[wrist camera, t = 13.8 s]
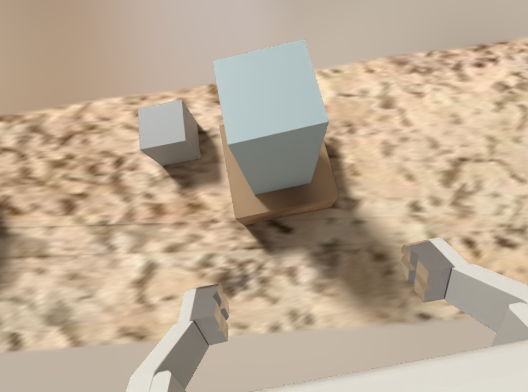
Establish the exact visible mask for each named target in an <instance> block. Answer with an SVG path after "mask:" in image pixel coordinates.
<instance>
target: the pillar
mask: <svg viewBox="0 0 528 392" xmlns="http://www.w3.org/2000/svg"><path fill="white" fill-rule="evenodd" d="M213 65H214V70H215V76H216V82H217V88H218V93H219V99H220V105H221V110H222V116H223V121H224V127H225V133H226V138H227V144H228V146H229V148H230V150H231V152H232V154H233V156H234V158H235V159H236V161H237V163H238V165H239V167H240V169H241V171H242V172H243V174H244V176H245V178H246V180H247V182H248V184H249V186H250V187H251V189H252V191H253V193H254V195H257V194H262V193H267V192H271V191H276V190H280V189H285V188H289V187H294V186H299V185H303V184H308V183H311V180H312V177H313V174H314V170H315V167H316V163H317V160H318V157H319V153H320V150H321V146H322V143H323V140H324V136H325V133H326V130H327V126H328V123H329V121H328V117H327V114H326V110H325V107H324V104H323V100H322V97H321V94H320V90H319V87H318V84H317V80H316V77H315V73H314V70H313V67H312V63H311V60H310V57H309V53H308V50H307V46H306V43H305V40H304V39H302V40H298V41H294V42H290V43H286V44H282V45H277V46H273V47H269V48H265V49H261V50H257V51H253V52H249V53H244V54H240V55H236V56H232V57H228V58H224V59H219V60H216V61H213Z"/></svg>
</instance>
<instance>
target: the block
mask: <svg viewBox="0 0 528 392" xmlns="http://www.w3.org/2000/svg"><path fill="white" fill-rule="evenodd" d="M138 115H139V139H140V150H141V151H143V152H144V153H145V154H147V155H148V156H149V157H151V158H152V159H154V160H155V161H156V162H158V163H159V164H160V165H162V166H164V165H169V164H174V163H180V162H185V161H190V160H195V159H201V154H200V144H199V135H198V126H197V122H196V120H195V119H194V117H193V116H192V114H191V113H190V111H189V110H188V108H187V107H186V105H185V104H184V102H183V101H182V100H178V101H173V102H168V103H163V104H159V105H154V106H149V107H144V108H139V109H138Z"/></svg>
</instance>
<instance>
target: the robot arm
mask: <svg viewBox="0 0 528 392" xmlns="http://www.w3.org/2000/svg"><path fill="white" fill-rule="evenodd" d="M401 252H402V253H403V254H404V256H403V257H402V258H401V268H402V272H403V274H404V276H405V277H406V279H407V280H408V281H410V282H412V283H413V284H415V285H414V290H415V291H416V293H417V294H418V295H419V297H420V298H421V300H422V301H423V302H429V301H435V300H441V299H445V300H446V301H447V302H449V303H450V304H452V305H454V306H455V307H457V308H458V309H460V310H461V311H463V312H465V313H466V314H468V315H469V316H471V317H472V318H474V319H476V320H477V321H479V322H480V323H482V324H484V325H485V326H487V327H488V328H490V329H492V330H493V331H495V332H496V335H495V338H494V340H493V343H492V346H491V347H485V348H480V349H475V350H470V351H464V352H459V353H454V354H449V355H443V356H438V357H433V358H427V359H421V360H416V361H411V362H405V363H400V364H395V365H389V366H385V367H379V368H373V369H368V370H362V371H357V372H352V373H347V374H341V375H336V376H331V377H325V378H320V379H315V380H309V381H304V382H300V383H293V384H288V385H283V386H277V387H272V388H267V389H261V390H256V391H252V392H528V285H525V284H523V283H520V282H518V281H515V280H513V279H510V278H508V277H505V276H503V275H500V274H498V273H495V272H493V271H490V270H488V269H485V268H483V267H480V266H478V265H475V264H469V263H468V262H466V261H465V260H464V259H463V258H462V257H461V256H460V255H459V254H458V253H457V252H456V251H455V250H454V249H453V248H452V247H451V246H449V245H448V244H447V243H446V242H445V241H444V240H443V239H442V238H440V237H438V238H434V239H429V240H424V241H419V242H415V243H410V244H406V245H403V246H402V251H401ZM222 291H223V288H222V286H221V284H215V285H209V286H204V287H198V288H194V289H188V290H186V292H185V294H184V298H183V302H182V306H181V311H180V315H179V319H178V323H177V324H174V325H173V326H172V328H171V329H170V330H169V331H168V332H167V334H166V335H165V336H164V337H163V338H162V340H161V341H160V342H159V343H158V345H157V346H156V347H155V348H154V349H153V351H152V352H151V353H150V354H149V355H148V357H147V358H146V359H145V360H144V362H143V363H142V364H141V365H140V367H139V368H138V369H137V370H136V371H135V373H134V374H133V375H132V376H131V379H130V381H129V384H128V388H127V390H126V392H186V391H185V388H186V386H187V385H188V383H189V381H190V379H191V378H192V376H193V374H194V372H195V370H196V369H197V367H198V365H199V363H200V361H201V360H202V358H203V356H204V354H205V352H206V350H207V349H208V347H209V345H213V344H217V343H222V342H226V341H228V324H227V322H226V320H227V319H228V317H229V305H228V300H227V297H226V295H224V294H222Z"/></svg>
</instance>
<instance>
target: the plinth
mask: <svg viewBox="0 0 528 392" xmlns="http://www.w3.org/2000/svg"><path fill="white" fill-rule="evenodd" d="M220 132H221V138H222V144H223V149H224V155H225V161H226V167H227V173H228V179H229V185H230V191H231V196H232V202H233V208H234V214H235V219H236V220H238V221H239V222H240V223H242V224H243V225H248V224H253V223H257V222H262V221H267V220H272V219H276V218H281V217H286V216H290V215H295V214H300V213H305V212H309V211H314V210H319V209H324V208H328V207H331V206H332V205H333V204H334V203H335V201H336V200H337V199H338V198H339V197H340V196H339V193H338V189H337V186H336V182H335V179H334V175H333V171H332V168H331V164H330V161H329V157H328V154H327V150H326V147H325V143H324V140H323V143H322V146H321V150H320V153H319V157H318V160H317V163H316V167H315V170H314V174H313V177H312V180H311V183H308V184H303V185H299V186H294V187H289V188H285V189H280V190H276V191H271V192H267V193H262V194H257V195H254V193H253V191H252V189H251V187H250V186H249V184H248V182H247V180H246V178H245V176H244V174H243V172H242V171H241V169H240V167H239V165H238V163H237V161H236V159H235V158H234V156H233V154H232V152H231V150H230V148H229V146H228V144H227V138H226V133H225V127H224V125H221V126H220Z"/></svg>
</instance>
